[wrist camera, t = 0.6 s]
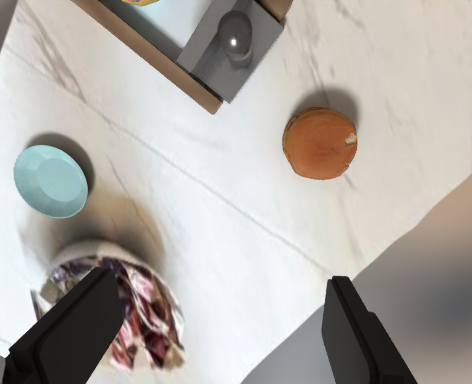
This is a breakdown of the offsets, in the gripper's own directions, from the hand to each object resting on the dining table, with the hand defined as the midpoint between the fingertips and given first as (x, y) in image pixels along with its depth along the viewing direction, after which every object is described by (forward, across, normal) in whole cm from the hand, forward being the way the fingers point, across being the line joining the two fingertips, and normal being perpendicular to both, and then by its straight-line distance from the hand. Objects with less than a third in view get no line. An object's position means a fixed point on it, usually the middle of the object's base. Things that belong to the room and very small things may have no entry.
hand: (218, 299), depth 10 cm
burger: (+28, -10, -4) cm, 30 cm away
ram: (+27, +1, -16) cm, 31 cm away
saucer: (+28, +30, +2) cm, 41 cm away
